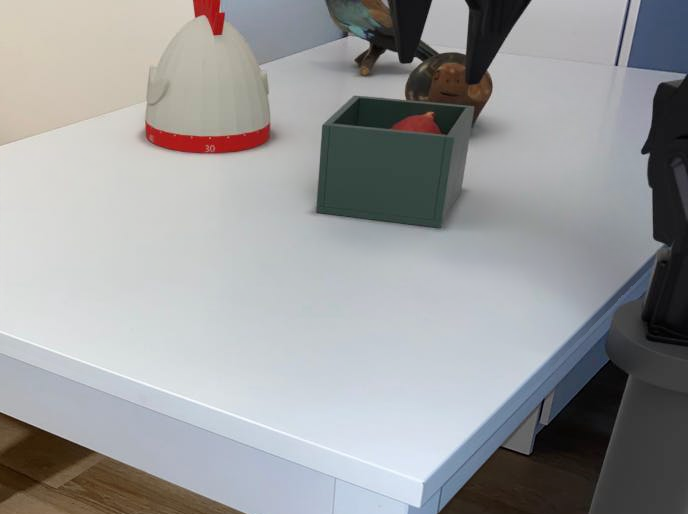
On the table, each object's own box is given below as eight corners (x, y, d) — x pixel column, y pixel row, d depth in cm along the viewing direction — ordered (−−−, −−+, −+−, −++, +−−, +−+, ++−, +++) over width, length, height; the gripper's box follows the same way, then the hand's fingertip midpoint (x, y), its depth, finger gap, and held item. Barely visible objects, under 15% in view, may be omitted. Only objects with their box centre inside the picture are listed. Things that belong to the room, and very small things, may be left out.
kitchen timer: (245, 115, 118) (249, -31, 109) (288, 146, 108) (297, -12, 98) (131, 124, 114) (126, -26, 105) (165, 157, 104) (162, -6, 95)
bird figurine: (460, 60, 139) (400, -87, 130) (453, 77, 132) (389, -78, 123) (373, 107, 146) (311, -30, 137) (362, 125, 138) (296, -18, 130)
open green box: (461, 190, 96) (474, 106, 91) (440, 228, 88) (454, 137, 83) (346, 177, 99) (353, 95, 95) (315, 212, 91) (322, 124, 86)
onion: (365, 161, 89) (400, 84, 90) (366, 195, 95) (398, 122, 96) (427, 180, 88) (461, 101, 89) (424, 213, 94) (456, 138, 94)
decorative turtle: (405, 144, 108) (411, 63, 104) (398, 119, 121) (402, 45, 116) (496, 143, 107) (506, 60, 103) (480, 117, 120) (487, 43, 115)
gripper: (303, -167, 75) (294, 61, 84) (449, -165, 61) (418, 108, 70) (427, -168, 78) (405, 51, 88) (591, -167, 65) (544, 93, 74)
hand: (437, 73), depth 80 cm, fingers open, 9 cm apart
